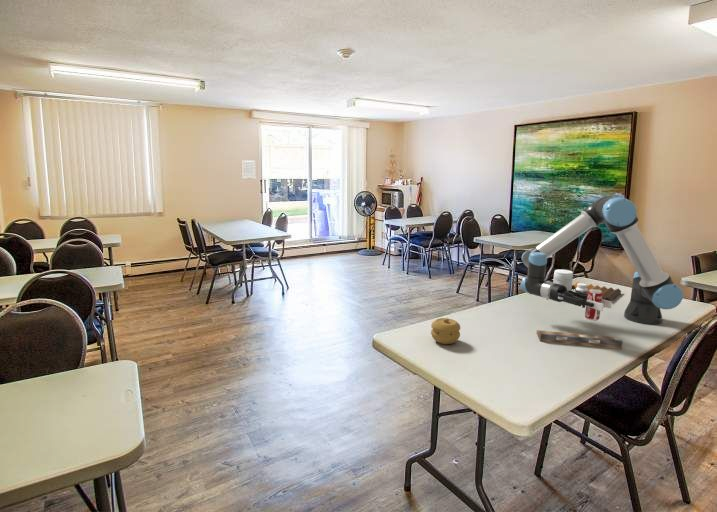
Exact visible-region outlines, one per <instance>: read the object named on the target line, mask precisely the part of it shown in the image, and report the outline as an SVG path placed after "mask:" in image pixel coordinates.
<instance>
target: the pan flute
mask: <svg viewBox="0 0 717 512" xmlns="http://www.w3.org/2000/svg"><path fill="white" fill-rule="evenodd" d="M578 283H580V282H579V281H577V282H575V283H574V284H573V283H572V289H575V290H574V292H576V288H577V287H578V286H577V284H578ZM584 284H586V283H585V282H584ZM586 288H587V289H588V292H589V289H597V290H601V291H602V299H603V300H607V301H611V302H613V301H614V300H615V299H616V298H617V297H618V296H619V295H620V294H621V293H622V290H620V288H615V289H614V288H613V287H609V288H608V287H606V286H605V285H604V286H602V287H601V286H599V284H598V285H595V286H594V285H593V284H592V283H590V284H587V287H586ZM572 289H571V290H572ZM588 292H587V294H588Z"/></svg>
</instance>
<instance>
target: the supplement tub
mask: <svg viewBox="0 0 717 512" xmlns="http://www.w3.org/2000/svg"><path fill="white" fill-rule="evenodd" d="M553 272H554V273H553V280H552V281H553V282H552V283H556V284H560V285H564V286H565V287H566V289H567V291H568V290H571V291H572V285H573V279H574V278H573V277H574V274H573V273H574V272H573V271H572V270H569V269H559V268H558V269H555V270H554V271H553Z"/></svg>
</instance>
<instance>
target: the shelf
mask: <svg viewBox="0 0 717 512" xmlns="http://www.w3.org/2000/svg"><path fill="white" fill-rule="evenodd" d="M536 335H537V337H538V340H539V342H541V343H550V344H551V343H552V344H554V343H555V344H564V345H574V346H583V345H586V346H585V347H595V348H596V347H597V348H606V349H607V348H608V349H618V350H622V346H623V340H621V339H620V340H619V339H616V338H615V337H614V336H608V335H599V334H598V335H596V334H586V333H585V334H583V333H574V332H564V331H563V332H562V331H561V332H560V331H552V330H551V331H550V330H539V329H537V330H536Z"/></svg>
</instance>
